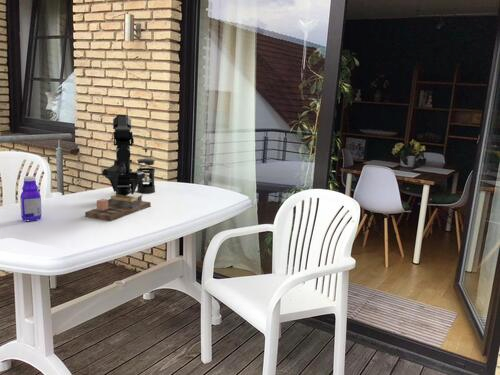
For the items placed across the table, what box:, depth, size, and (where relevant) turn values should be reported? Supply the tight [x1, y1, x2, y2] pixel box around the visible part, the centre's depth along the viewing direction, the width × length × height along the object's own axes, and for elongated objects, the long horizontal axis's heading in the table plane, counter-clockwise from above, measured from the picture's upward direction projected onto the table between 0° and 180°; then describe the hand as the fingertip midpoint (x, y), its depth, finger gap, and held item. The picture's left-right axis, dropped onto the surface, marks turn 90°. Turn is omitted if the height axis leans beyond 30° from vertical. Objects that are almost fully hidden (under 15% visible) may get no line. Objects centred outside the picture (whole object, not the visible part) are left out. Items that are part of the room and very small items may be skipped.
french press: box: [136, 147, 156, 195], centre depth 237 cm, size 12×9×23 cm
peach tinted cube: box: [96, 198, 108, 210], centre depth 192 cm, size 3×4×4 cm
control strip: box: [84, 194, 152, 222], centre depth 198 cm, size 13×28×5 cm, turn 158°
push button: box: [110, 193, 137, 203], centre depth 201 cm, size 11×4×2 cm, turn 68°
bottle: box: [19, 175, 42, 221], centre depth 179 cm, size 7×6×17 cm
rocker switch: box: [127, 192, 144, 200], centre depth 207 cm, size 6×6×1 cm
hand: (123, 192), depth 200 cm, fingers open, 9 cm apart
